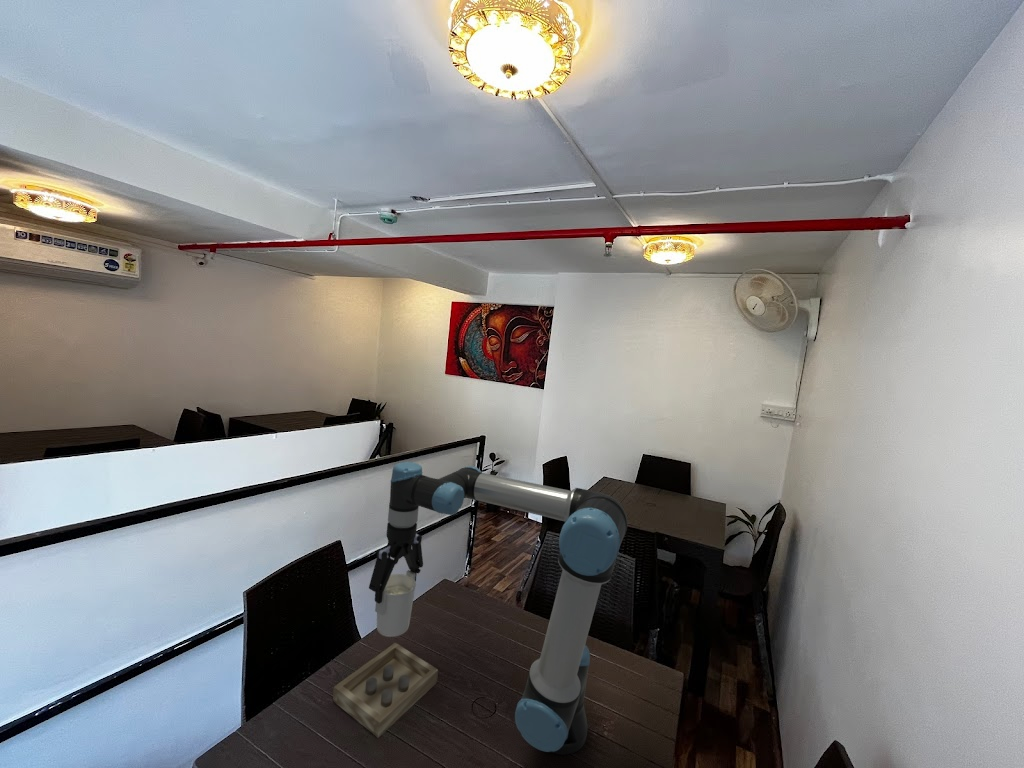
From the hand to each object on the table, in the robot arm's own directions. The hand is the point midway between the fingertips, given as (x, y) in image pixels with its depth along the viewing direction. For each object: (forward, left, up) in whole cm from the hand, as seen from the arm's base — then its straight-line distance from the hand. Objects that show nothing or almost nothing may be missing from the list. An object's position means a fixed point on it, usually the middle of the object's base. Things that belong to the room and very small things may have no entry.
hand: (395, 603), depth 112 cm
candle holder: (0, 0, -7) cm, 7 cm away
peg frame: (0, 0, -25) cm, 25 cm away
